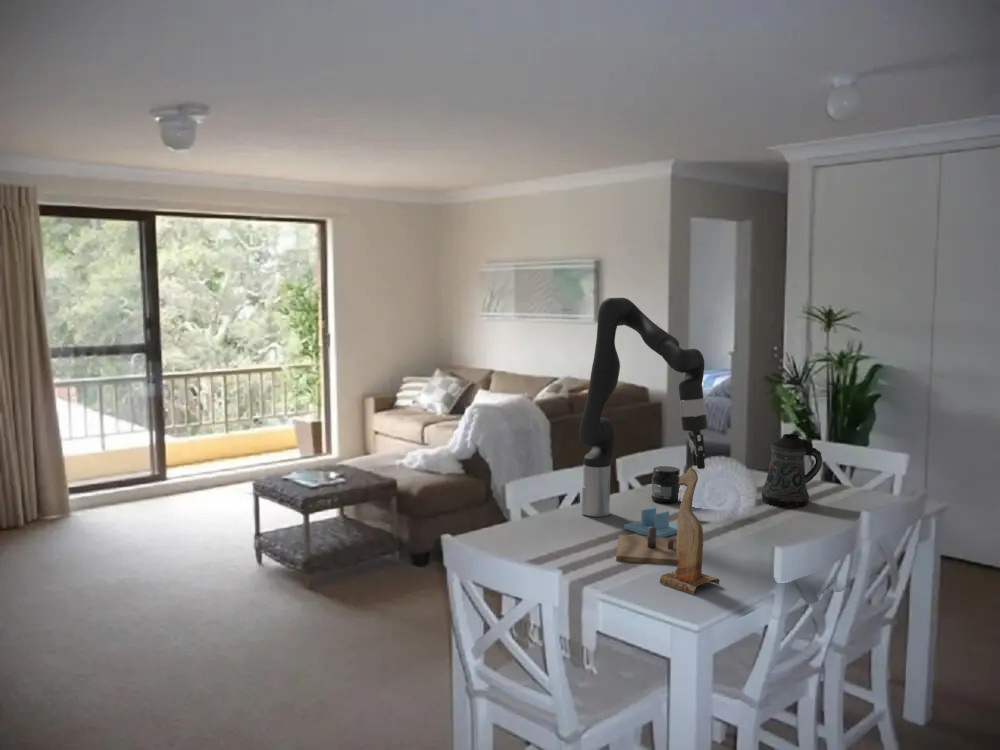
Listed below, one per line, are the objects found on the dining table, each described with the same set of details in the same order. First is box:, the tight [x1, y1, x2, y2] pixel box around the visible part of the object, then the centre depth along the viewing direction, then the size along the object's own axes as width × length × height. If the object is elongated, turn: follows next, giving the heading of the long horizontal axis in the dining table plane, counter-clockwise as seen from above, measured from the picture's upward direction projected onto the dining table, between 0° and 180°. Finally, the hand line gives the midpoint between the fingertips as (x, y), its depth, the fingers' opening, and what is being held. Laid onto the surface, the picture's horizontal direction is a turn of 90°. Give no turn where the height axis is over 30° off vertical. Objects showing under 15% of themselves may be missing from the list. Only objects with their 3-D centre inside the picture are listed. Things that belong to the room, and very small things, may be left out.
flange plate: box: [623, 507, 678, 538], centre depth 267 cm, size 14×14×6 cm
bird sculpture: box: [659, 467, 720, 595], centre depth 218 cm, size 11×12×32 cm
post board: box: [615, 526, 679, 566], centre depth 245 cm, size 20×20×8 cm
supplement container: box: [651, 465, 681, 505], centre depth 303 cm, size 10×10×12 cm
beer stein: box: [761, 433, 823, 509], centre depth 301 cm, size 16×19×25 cm
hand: (699, 467), depth 252 cm, fingers open, 8 cm apart
